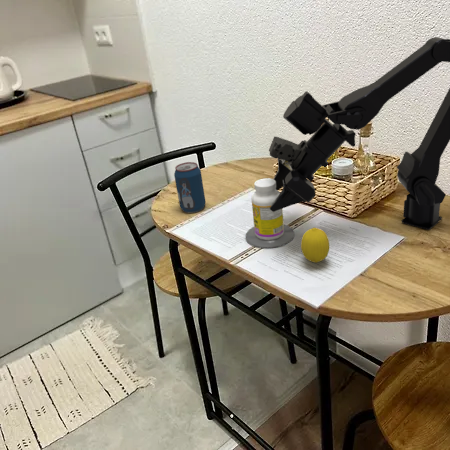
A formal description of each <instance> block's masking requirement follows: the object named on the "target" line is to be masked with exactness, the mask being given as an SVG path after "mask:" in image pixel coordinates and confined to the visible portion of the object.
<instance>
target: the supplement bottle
mask: <svg viewBox="0 0 450 450" xmlns="http://www.w3.org/2000/svg"><path fill="white" fill-rule="evenodd" d="M253 186H254V190H255V192H253V194H252V195H251V207H252V209H251V210H252V216H253V217H252V218H253V227H254V229H255V234H256V236H257V237H258V238H260V239H262V240H274V239H277V238H279V237H281V236H282V235H283V233H284V223H285V222H284V214H283V213H284V211H283V209H280V210H277V211H275V212H273V211H271V210H270V207H271V206H272V204H273V203H274V201H275V200H276V198H277V197H278V196H279V194H280V193H281V192H280V190H276V181H275V180H274V179H273V178H269V177H267V178H261V179H257V180H256V181H255V182H254V185H253Z"/></svg>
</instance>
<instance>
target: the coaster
mask: <svg viewBox="0 0 450 450" xmlns="http://www.w3.org/2000/svg"><path fill="white" fill-rule="evenodd" d="M293 237H295V231H294V229H293V228H292V227H291V226H289V225H287V224H284V233H283V235H282V236H281V237H279V238H277V239H274V240H262V239H260V238H258V237H257V236H256V234H255V229H254V226H252V227H251V228H250V229H248V230H247V232H246V233H245V240H246V242H247V244H249V245H250V246H252V247H254V248H259V249H275V248H280V247H283V246H286V245H288V244H290V243H291V242H292V241H293V239H294V238H293Z"/></svg>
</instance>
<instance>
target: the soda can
mask: <svg viewBox="0 0 450 450" xmlns="http://www.w3.org/2000/svg"><path fill="white" fill-rule="evenodd" d="M174 168H175V170H174V174H173V176H174V181H175V188H176V192H177V198H178V204H179V208H180V209H181V210H182V211H183V212H185V213H187V214H188V213H189V214H192V213H193V214H194V213H197V212H198V213H199V212H201V211H202V210H204V207H205V206H206V197H205V196H206V194H205V191H204V184H203V177H202V176H203V175H202V171H201V168H200V167H199V165H198V163H197V162H193V161H188V162H183V163H179V164H177V165H176V166H175V167H174Z"/></svg>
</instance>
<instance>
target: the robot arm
mask: <svg viewBox="0 0 450 450" xmlns="http://www.w3.org/2000/svg"><path fill="white" fill-rule="evenodd" d="M442 62H443V63H444V62H445V63H450V38H442V37H438V36H435V37H431V38H430V39H428V40H427V41H426V42H425V43H424V44H423V45H422V46H420V48H417V50H415V51H414V52H412V53H411V54H409V56H408V57H406V58H405V59H403V60H402V61H400V62H399V63H398V64H396V65H395V66H394V67H393V68H391V69H390V70H389V71H387V72H386V73H385V74H383V75H382V76H381V77H380V78H377V80H375V81H373V82H372V83H370V84H369V85H365V86H363V87H359V88H358V89H355V90H354V91H351V92H350V93H348V94H346V95H343V97H342V98H340V99H339V101H334V102H330V103H327V104H321V103H320V102H318V100H316V99H315V98H314V96H313V95H312V94H311V93H310V92H309V91H308V90H307V91H304V93H303V94H302V95H299V96H298V97H297V98H295V100H293V101H292V102H291V103H290V104H289V106H287V108H285V109H286V110H285V111H284V113H283V115H282V118H283V119H284V120H285V121H287V122H288V123H289V124H290V125H292V126H293V127H294V128H295V129H296V130H297V131H299V132H300V133H301V134H302V135H304V136H305V135H309V136H311V137H309V139H307V140H305V139H304V140H301V141H300V142H299V143H295V142H293V141H291V140H287V139H284V138H282V137H278V136H273V138H272V141H271V142H270V143H271V144H270V145H269V148H268V151H269V156H271V158H273V159H277V166H278V167H277V170H276V173H275V175H274V177H273V178H272V179H274V180H275V181H276V190H278V191H280V190H281V189H282V190H281V192H280V194H279V196H278V197H277V198H276V200H275V201H274V203H273V204H272V206H271V207H270V210H271V211H273V212H275V211H277V210H280V209H282V210H283V209H285V208H288V207H290V206H293V205H296V204H300V203H306V202H307V203H310V202H311V201H312V200H313V199H314V198H315V197H316V188H315V186H314V183H313V182H312V181H313V180H314V179H315V177H314V175H315V174H314V173H315V172H316V171H317V170H318V169H319V168H320V167H321V166H324V167H326V166H327V165H328V162H327V160H330V157H332V156H333V155H334V153H335V152H336V151H337V150H338V149H340V147H341V146H342V145H343V144H344V143H345V142H346V143H347V144H349V145H350V146H351V147H352V148H354V147H356V134H357V133H356V132H355V131H356V130H361V129H363V128H365V127H366V126H367V125H369V123H371V122H372V120H373V119H374V118H376V116H377V115H378V114H379V113H380V111H381V110H382V108H383V107H384V106H385V105H386V104H387V103H388V102H389V101H390V100H391V99H392V98H393V97H395V96H397V95H398V94H400V93H401V92H402V91H403V90H404V89H406V88H408V86H410V85H411V84H413V83H414V82H416V81H417V80H418V79H420V78H421V77H422V76H424V75H425V74H426V73H428V72H429V71H431V70H432V69H433V68H435V67H436V66H437V65H439V64H440V63H442ZM343 125H344V126H345V127H346V128H345V127H344V126H343ZM347 129H350V130H347ZM354 130H355V131H354ZM449 142H450V87H449V88H448V91H447V92H446V94H445V97H444V99H443V101H442V102H441V103H440V105H439V107H438V110H437V111H436V113H435V116H434V118H433V119H432V121H431V123H430V126H429V128H428V129H427V131H426V133H425V135H424V136H423V139H422V141H421V143H420V144H419V146H418V148H417V149H415V150H413V152H409V151H405V152H404V153H403V156H402V159H401V162H399V164H398V165H397V166H396V169H398V170H397V174H396V175H397V179H398V181H399V182H400V184H401V185H402V186H403V187H404V188H405V190H406V191H407V192H408V194H406V198H405V199H404V201H403V215H402V216H403V218H402V220H401V223H402V224H405V225H408V226H412V227H416V228H419V229H423V230H428V231H430V230H431V229H433V227H435V226H436V225H437V224H438V223H440V221H441V220H443V216H441V215H440V210H441V204H442V203H443V201H444V200H445V197H446V196H447V195H446V193H445V192H444V190H443V189H441V188H440V186H439V185H437V184H436V183H437V180H438V177H439V174H440V166H441V165H440V164H441V158H442V155H443V153H444V152H445V149H446V148H447V146H448V144H449Z"/></svg>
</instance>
